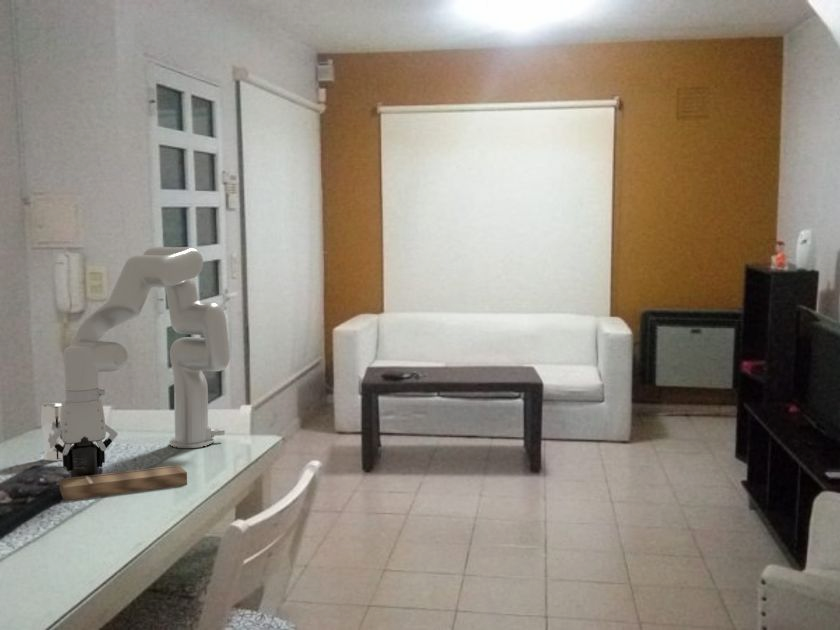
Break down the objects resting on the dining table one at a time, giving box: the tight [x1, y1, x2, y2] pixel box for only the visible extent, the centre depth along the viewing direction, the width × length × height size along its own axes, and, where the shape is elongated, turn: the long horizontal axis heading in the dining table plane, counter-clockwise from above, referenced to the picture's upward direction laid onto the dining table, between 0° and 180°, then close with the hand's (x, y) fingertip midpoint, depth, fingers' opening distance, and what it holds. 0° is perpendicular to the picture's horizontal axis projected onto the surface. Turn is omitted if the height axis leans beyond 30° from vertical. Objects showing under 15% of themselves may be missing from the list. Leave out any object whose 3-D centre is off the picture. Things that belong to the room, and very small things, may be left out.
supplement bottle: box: [68, 436, 100, 478], centre depth 207 cm, size 7×7×12 cm
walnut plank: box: [59, 464, 188, 501], centre depth 204 cm, size 28×8×3 cm, turn 119°
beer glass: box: [40, 402, 64, 462], centre depth 231 cm, size 7×7×15 cm
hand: (84, 467), depth 207 cm, fingers closed on supplement bottle, 6 cm apart
